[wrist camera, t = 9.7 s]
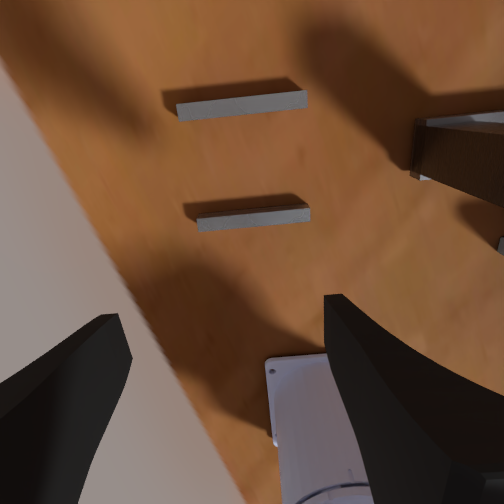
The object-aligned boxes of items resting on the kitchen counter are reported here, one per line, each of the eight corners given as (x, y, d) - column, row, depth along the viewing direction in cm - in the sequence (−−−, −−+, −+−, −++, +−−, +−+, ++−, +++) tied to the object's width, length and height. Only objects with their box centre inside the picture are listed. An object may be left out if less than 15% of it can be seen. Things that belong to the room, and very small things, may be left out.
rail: (307, 215, 19) (310, 221, 18) (201, 226, 20) (198, 232, 19) (303, 90, 17) (307, 89, 16) (179, 104, 17) (175, 104, 16)
